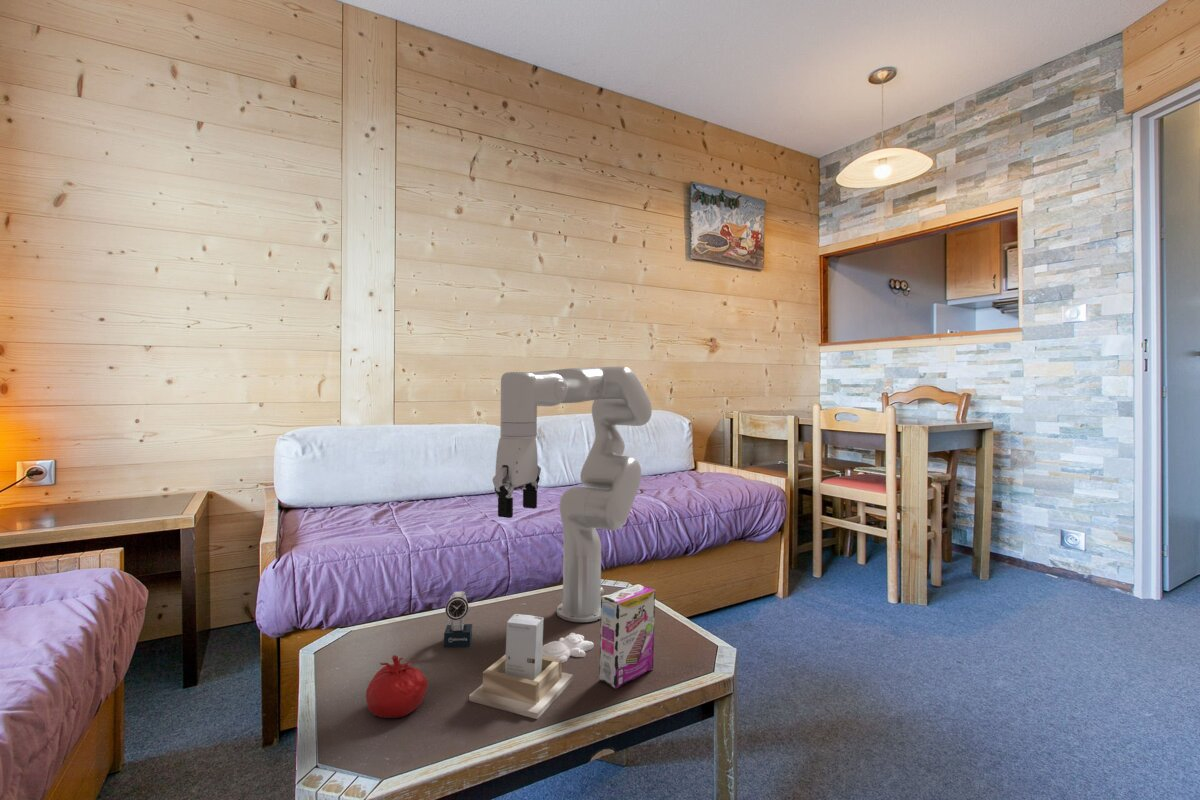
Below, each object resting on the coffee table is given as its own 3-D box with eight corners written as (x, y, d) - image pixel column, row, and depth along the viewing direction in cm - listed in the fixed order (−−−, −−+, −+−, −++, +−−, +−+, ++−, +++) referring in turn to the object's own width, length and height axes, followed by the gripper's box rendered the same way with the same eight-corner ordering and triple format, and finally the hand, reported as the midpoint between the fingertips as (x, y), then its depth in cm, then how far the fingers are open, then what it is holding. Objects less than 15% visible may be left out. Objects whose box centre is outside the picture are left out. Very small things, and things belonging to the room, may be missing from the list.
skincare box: (503, 687, 101) (504, 622, 101) (513, 675, 106) (513, 612, 106) (535, 692, 100) (535, 625, 100) (543, 679, 104) (544, 616, 104)
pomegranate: (404, 731, 90) (405, 675, 90) (353, 720, 93) (353, 666, 93) (438, 697, 100) (438, 647, 99) (390, 688, 102) (390, 639, 102)
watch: (442, 651, 117) (443, 600, 117) (448, 635, 125) (448, 587, 125) (469, 650, 118) (469, 599, 118) (473, 634, 126) (473, 586, 126)
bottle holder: (510, 665, 112) (511, 643, 112) (573, 679, 106) (573, 656, 106) (469, 700, 99) (469, 675, 99) (537, 719, 93) (537, 693, 93)
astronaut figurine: (600, 654, 118) (600, 640, 118) (549, 668, 112) (549, 653, 111) (580, 638, 125) (580, 624, 125) (532, 650, 119) (532, 636, 119)
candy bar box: (617, 690, 103) (617, 603, 102) (598, 680, 106) (599, 596, 106) (655, 670, 110) (656, 588, 110) (636, 661, 114) (637, 582, 114)
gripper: (524, 428, 125) (523, 503, 125) (479, 432, 109) (478, 519, 109) (553, 429, 122) (553, 506, 122) (511, 434, 106) (511, 523, 106)
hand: (518, 512), depth 115 cm, fingers open, 9 cm apart
